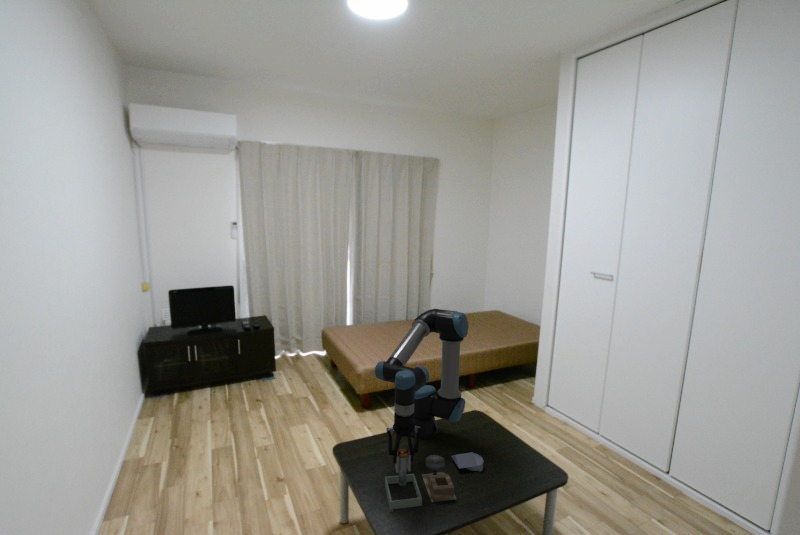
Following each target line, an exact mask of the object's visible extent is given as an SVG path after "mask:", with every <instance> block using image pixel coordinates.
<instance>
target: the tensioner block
mask: <svg viewBox="0 0 800 535" xmlns="http://www.w3.org/2000/svg"><path fill="white" fill-rule="evenodd" d="M425 467H426V468H427V469H428V470H431V471H432V472H431V473H421V477H422V480H423V482H424V486H425V489H426V491H427V494H428V497H429V499H430V502H431V503H437V502H438V503H439V502H446V501H456V500H457V497H456V495H455V490H456V489H455V488H456V487H455V486H454V485H455V484H454V483H453V481H452V478H451V476H450V475H449V473H445V471H443V470H444V468H445V467H446V459H444V457H443V456H441V455H438V454H430V455H428V456H427V457H426V458H425ZM438 471H439V472H438ZM440 471H442V472H440Z"/></svg>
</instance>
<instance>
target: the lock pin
mask: <svg viewBox="0 0 800 535" xmlns="http://www.w3.org/2000/svg"><path fill="white" fill-rule="evenodd" d="M408 452H410V451H409V449H407V448H399V449H398V455H399V473H398V475H399V483H398V485H399V486H400V487H405V486H406V485H407V482H406V479H407V474H408V473H407V472H408V469H407V456H408Z"/></svg>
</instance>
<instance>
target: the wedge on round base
mask: <svg viewBox="0 0 800 535" xmlns="http://www.w3.org/2000/svg"><path fill="white" fill-rule="evenodd" d="M451 458H452V460H453V461H454V463H455V465H456V466H457V468H458V469H464V468H465V469H466V470H469V471H472V472H479V473H481V472H482V471H483V469H484V459H483V457H482V456H481V455H480V454H477V453H474V452H466V453H459V454H458V453H457V454H453V455H451Z"/></svg>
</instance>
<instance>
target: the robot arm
mask: <svg viewBox="0 0 800 535" xmlns="http://www.w3.org/2000/svg"><path fill="white" fill-rule="evenodd" d="M468 331H469V320H468V317H467V316H466V314H465V313H464V312H461V311H457V310H449V309H441V308H440V309H439V308H432V309H428V310H426V311H423V312H422V313H420V314H419V315H418V316H417V317H416V318H415V319H414V320H413V322H412V323H411V328H410V329H409V331H408V332H407V333H406V335H405V336H404V337H403V338H402V340H401V341H400V342H399V344H398V345H397V347H396V348H395V349H394V350H393V352H392V353H391V355H390V356H389V357H388V358H387V360H386V361H385V360H384V361H383V360H380V361H378V362H377V363H376V365H375V366H374V367H375V369H374V375H375V377H376V378H377V380H381V381H384V382H387V383H392V384H394V406H393V407H394V409H393V410H394V415H393V416H394V417H393V418H394V420H393V422H394V423H393V425H392V426H391V427H387V428H385V429H386V434H387V447H388V449H387V450H388V455H389V456H392V462H393V465H394V464H395V466H394V467H395V468H394V469H395V473H396V474H399V455H398V450H399V449H400V444H401V440H402V438H403V437H406V440H407V444H408V451H409V452H408V456H407V472H411V467H412V466H411V465H412V464H411V463H414V462H413V461H414V456H415V454H418V453H419V448H420V447H419V445H420V444H419V443H420V440H428V439H432V438H434V437H436V436H437V434H438V433H439V432H438V431H439V430H438V428H439V427H438V423H437V421H436V418H440V419H442V420H446V421H449V422H454V423H457V422H459V421H460V420H461V418H462V416H463V413H464V411H465V407H466V399H465V398H464V397H462V392H461V390H459V382H460V379H459V378H460V360H461V359H460V358H461V357H460V355H461V343H462V342H463V341H464V338H466V337H467V336H468V333H469V332H468ZM431 333H435V334H439V337H438V338H439V340H440V341H441V343H442V345H441V371H440V373H441V374H440V375H441V377H440V388H439V389H438V390H436V388H435V386H433V385H431V384H430V385H429V384H428V385H427V383H428V382H429V380H430V372H429V371H428V369H427V368H426V367H425V366H422V365H419V366H415V367H409V366H406V365H407V363H408V362H409V360H410V358H411V357H412V356H413V355H414V353H415V352H416V350H417V349H418V348H419V346H420V345H421V343H422V341H423V340H424V338H425V337H428V336H429V335H430V334H431ZM394 432H395V435H396V436H395V440H394V445H393V434H394ZM412 437H414V440H413V441H414V442H413V443H412Z"/></svg>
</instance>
